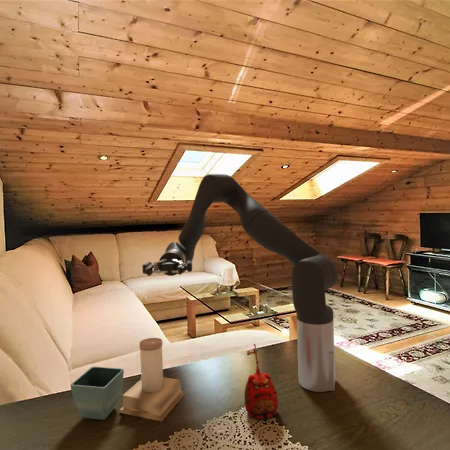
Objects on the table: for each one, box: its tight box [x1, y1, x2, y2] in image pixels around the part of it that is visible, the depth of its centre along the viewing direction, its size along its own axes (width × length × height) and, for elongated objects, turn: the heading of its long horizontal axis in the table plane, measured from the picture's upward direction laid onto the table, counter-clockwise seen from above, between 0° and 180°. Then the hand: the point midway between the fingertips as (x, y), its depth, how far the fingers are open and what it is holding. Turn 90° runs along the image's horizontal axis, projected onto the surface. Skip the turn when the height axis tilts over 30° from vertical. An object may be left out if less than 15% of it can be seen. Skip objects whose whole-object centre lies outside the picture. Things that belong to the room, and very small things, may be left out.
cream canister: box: [139, 337, 164, 393], centre depth 82 cm, size 5×5×11 cm
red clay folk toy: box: [244, 343, 279, 420], centre depth 77 cm, size 8×7×15 cm
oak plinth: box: [119, 376, 185, 422], centre depth 82 cm, size 11×11×4 cm
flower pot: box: [70, 366, 125, 421], centre depth 79 cm, size 9×9×9 cm
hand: (164, 271), depth 93 cm, fingers open, 8 cm apart
